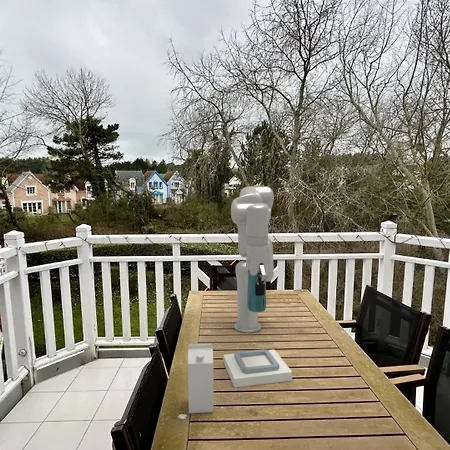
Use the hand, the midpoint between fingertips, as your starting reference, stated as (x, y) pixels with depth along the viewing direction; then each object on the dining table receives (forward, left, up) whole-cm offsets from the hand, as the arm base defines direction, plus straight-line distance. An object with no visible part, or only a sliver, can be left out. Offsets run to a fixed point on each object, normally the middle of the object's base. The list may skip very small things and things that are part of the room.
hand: (256, 291), depth 120 cm
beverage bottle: (0, 0, -8) cm, 8 cm away
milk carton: (+15, -22, -29) cm, 40 cm away
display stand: (0, 0, -29) cm, 29 cm away
